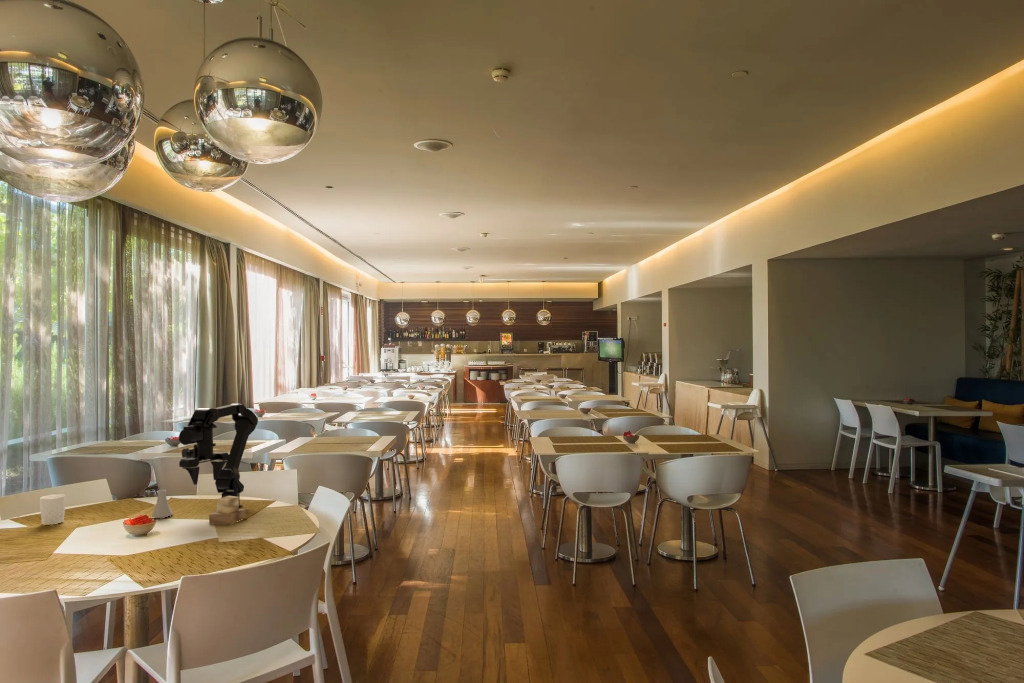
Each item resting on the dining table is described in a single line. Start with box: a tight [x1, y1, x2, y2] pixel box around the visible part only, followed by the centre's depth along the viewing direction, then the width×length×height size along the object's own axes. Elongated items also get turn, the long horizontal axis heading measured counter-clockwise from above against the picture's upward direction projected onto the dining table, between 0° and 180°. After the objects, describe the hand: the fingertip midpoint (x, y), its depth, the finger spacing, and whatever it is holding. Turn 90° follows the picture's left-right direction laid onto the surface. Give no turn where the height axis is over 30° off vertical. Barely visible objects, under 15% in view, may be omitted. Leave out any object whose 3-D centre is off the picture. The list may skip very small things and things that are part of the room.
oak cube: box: [217, 496, 240, 514], centre depth 245 cm, size 5×5×5 cm
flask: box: [151, 489, 174, 519], centre depth 253 cm, size 7×7×10 cm
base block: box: [208, 508, 247, 525], centre depth 245 cm, size 9×9×4 cm
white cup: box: [39, 493, 66, 525], centre depth 246 cm, size 8×8×10 cm
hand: (205, 482), depth 252 cm, fingers open, 9 cm apart
